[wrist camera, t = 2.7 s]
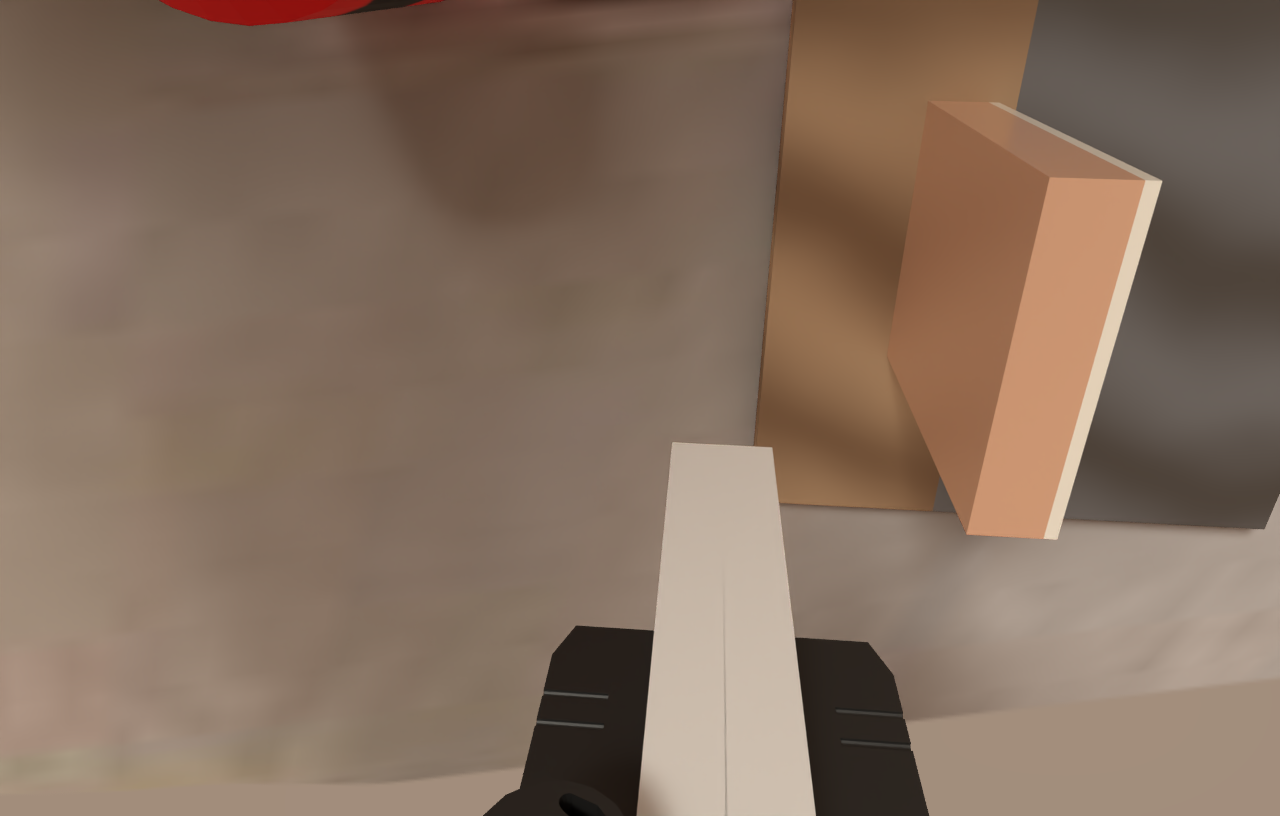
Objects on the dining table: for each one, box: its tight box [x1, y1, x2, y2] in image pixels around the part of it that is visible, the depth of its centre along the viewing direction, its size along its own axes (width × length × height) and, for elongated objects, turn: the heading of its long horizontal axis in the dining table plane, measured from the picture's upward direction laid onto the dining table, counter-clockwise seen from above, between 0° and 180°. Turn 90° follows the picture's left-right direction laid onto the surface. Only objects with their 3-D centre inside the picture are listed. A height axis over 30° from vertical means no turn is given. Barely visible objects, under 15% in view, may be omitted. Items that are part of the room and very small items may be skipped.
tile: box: [887, 101, 1162, 540], centre depth 22 cm, size 8×2×10 cm, turn 179°
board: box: [754, 0, 1280, 529], centre depth 27 cm, size 20×18×1 cm
